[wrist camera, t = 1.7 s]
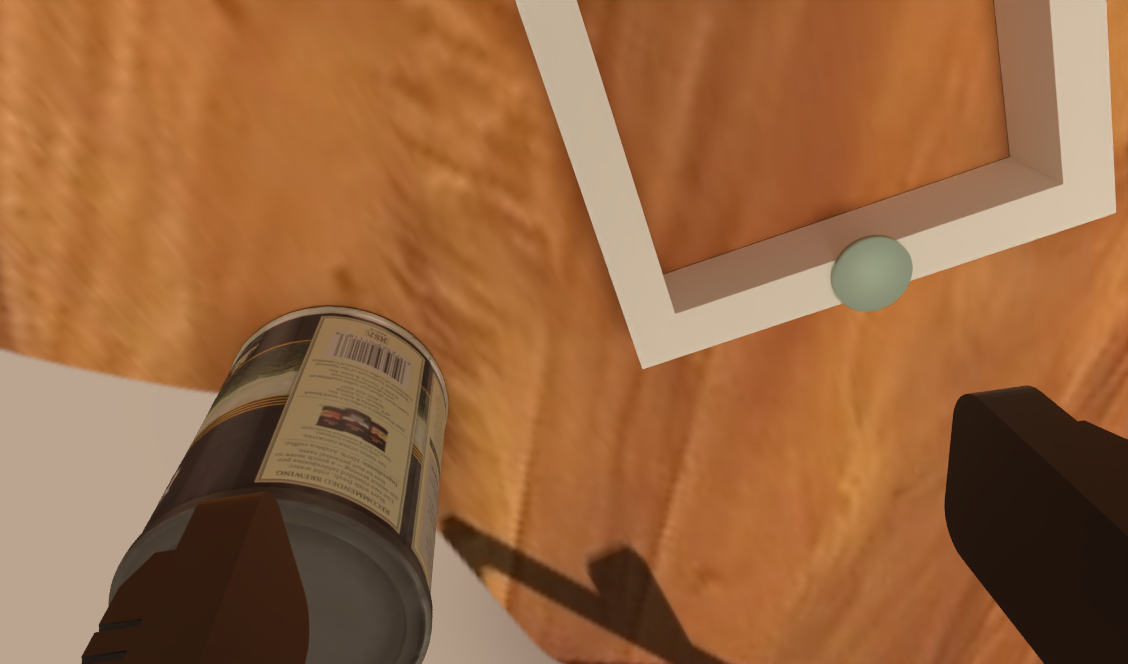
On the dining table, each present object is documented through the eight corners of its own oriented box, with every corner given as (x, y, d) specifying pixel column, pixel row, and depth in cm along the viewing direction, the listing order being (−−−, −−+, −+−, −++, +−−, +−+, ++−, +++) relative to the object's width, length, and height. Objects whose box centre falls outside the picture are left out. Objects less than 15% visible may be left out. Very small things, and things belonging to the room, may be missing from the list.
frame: (1022, -284, 31) (1099, -310, 27) (1059, 195, 39) (1123, 229, 35) (489, -80, 32) (488, -77, 28) (633, 338, 41) (647, 385, 37)
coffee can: (240, 492, 43) (134, 739, 30) (214, 302, 38) (78, 499, 26) (451, 493, 44) (433, 733, 31) (450, 306, 39) (429, 500, 27)
